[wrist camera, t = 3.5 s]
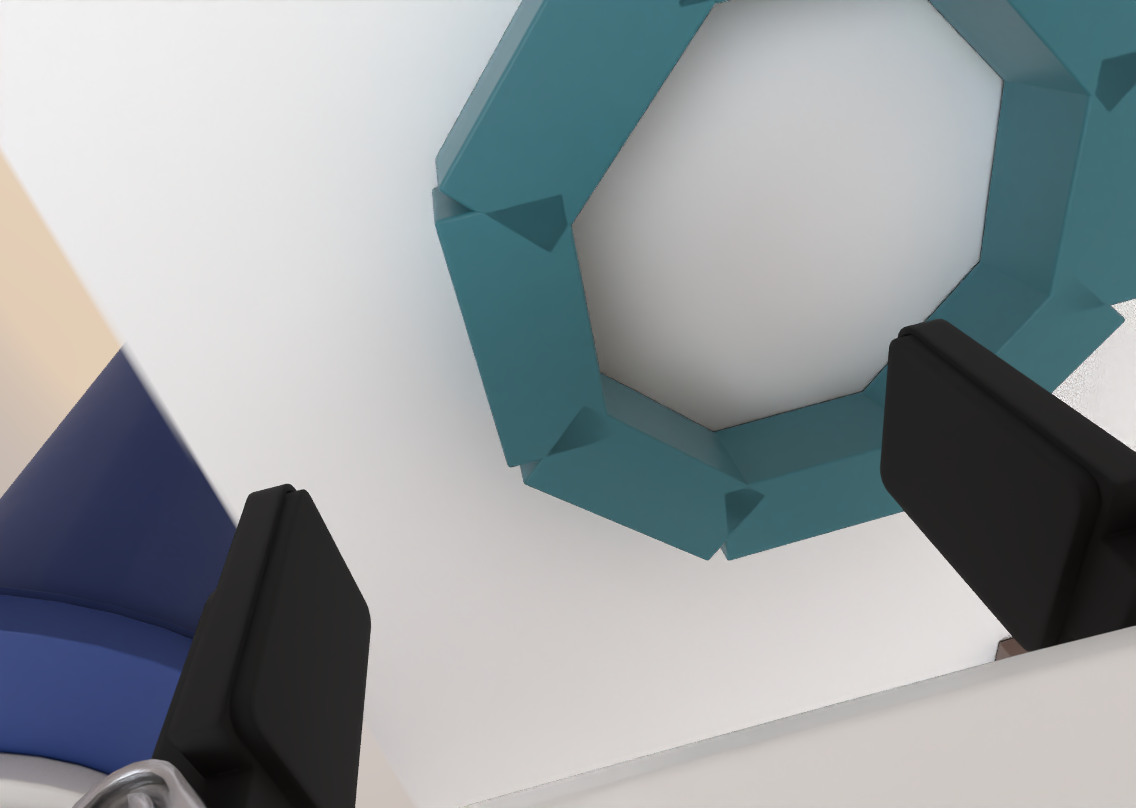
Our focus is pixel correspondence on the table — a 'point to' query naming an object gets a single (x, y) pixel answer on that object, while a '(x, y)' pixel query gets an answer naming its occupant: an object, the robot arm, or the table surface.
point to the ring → (811, 434)
